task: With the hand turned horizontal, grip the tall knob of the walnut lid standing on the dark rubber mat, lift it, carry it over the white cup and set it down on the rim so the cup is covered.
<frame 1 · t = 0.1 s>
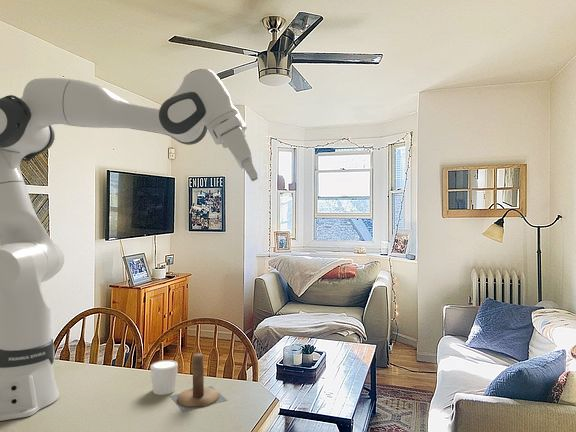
hand: (255, 178, 108), 54 cm above the table, tool tilted 30°, fingers open, 8 cm apart
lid: (198, 398, 106), resting on mat
mat: (198, 399, 106), on the table
white cup: (164, 392, 111), on the table
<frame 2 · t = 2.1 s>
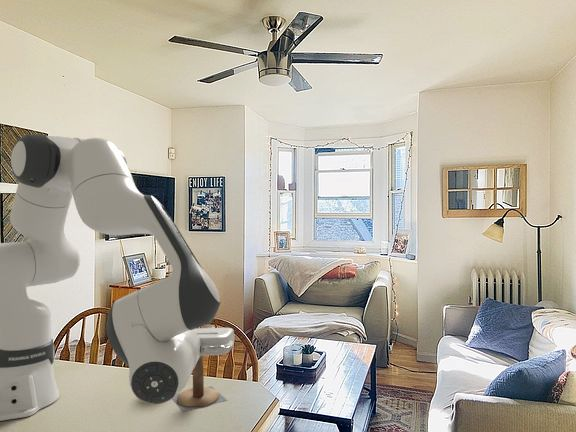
hand: (189, 330, 94), 20 cm above the table, tool horizontal, fingers open, 8 cm apart
nothing on the table moved.
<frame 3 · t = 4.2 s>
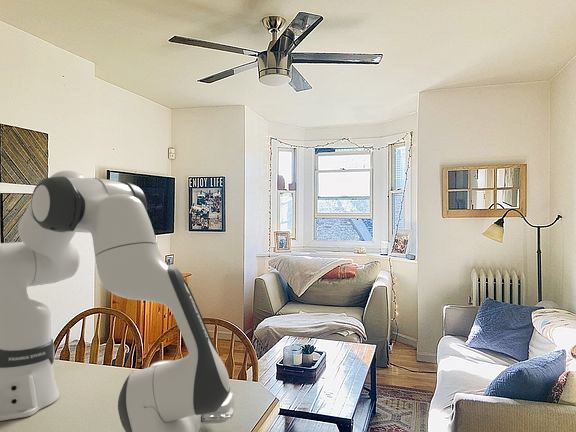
hand: (191, 390, 97), 6 cm above the table, tool horizontal, fingers open, 8 cm apart
nothing on the table moved.
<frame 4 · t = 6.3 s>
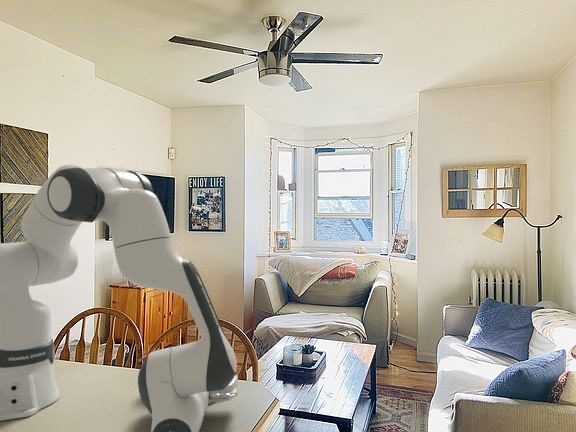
hand: (198, 373, 106), 6 cm above the table, tool horizontal, fingers closed on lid, 3 cm apart
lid: (198, 398, 106), resting on mat, touching gripper
everything else where it was.
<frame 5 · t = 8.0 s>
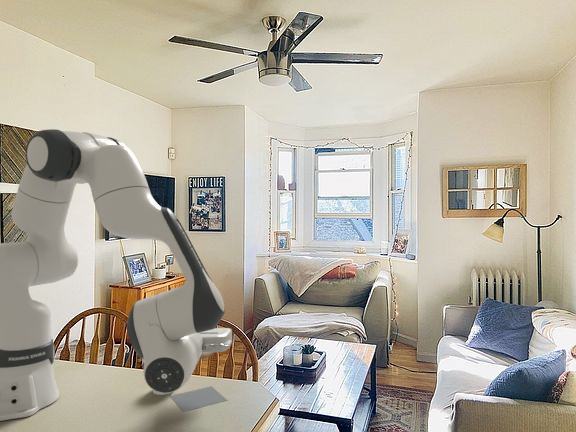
hand: (193, 329, 107), 17 cm above the table, tool horizontal, fingers closed on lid, 3 cm apart
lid: (192, 353, 106), point 11 cm above the table, touching gripper
everything else where it was.
when the fingers open (14 cm above the table, at t = 9.7 s): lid drops 1 cm, resting on white cup.
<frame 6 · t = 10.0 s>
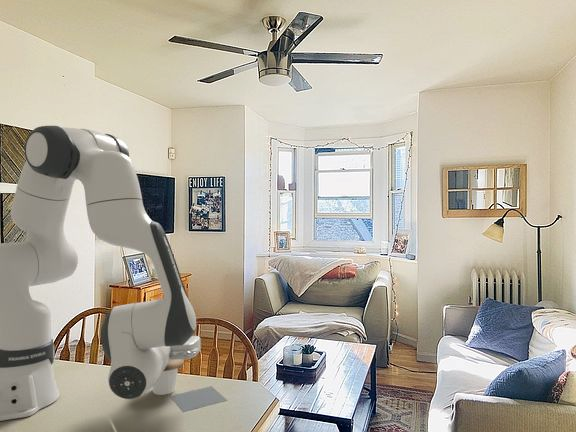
hand: (164, 337, 111), 14 cm above the table, tool horizontal, fingers open, 5 cm apart
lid: (164, 364, 111), point 7 cm above the table, touching white cup
white cup: (164, 392, 111), on the table, touching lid
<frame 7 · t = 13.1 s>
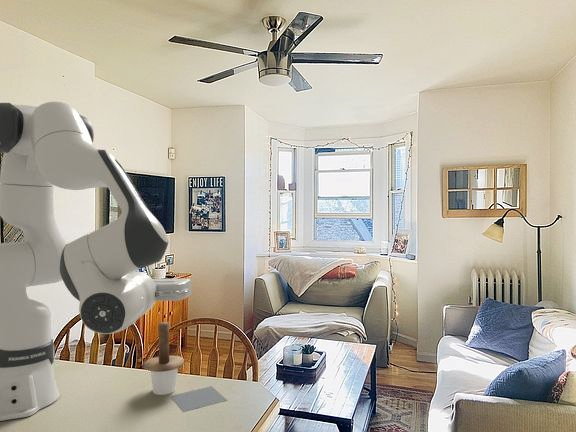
hand: (151, 282, 99), 30 cm above the table, tool horizontal, fingers open, 8 cm apart
nothing on the table moved.
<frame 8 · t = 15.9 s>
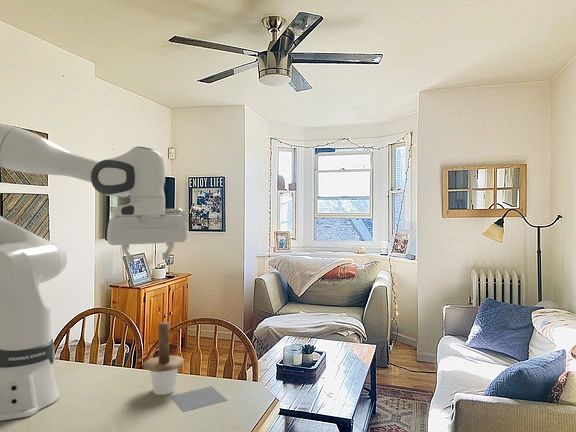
hand: (148, 260, 115), 33 cm above the table, tool pointing down, fingers open, 8 cm apart
nothing on the table moved.
at the end: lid 0.0 cm from the white cup (horizontally); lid point 7.0 cm above the table; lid tilted 0° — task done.
